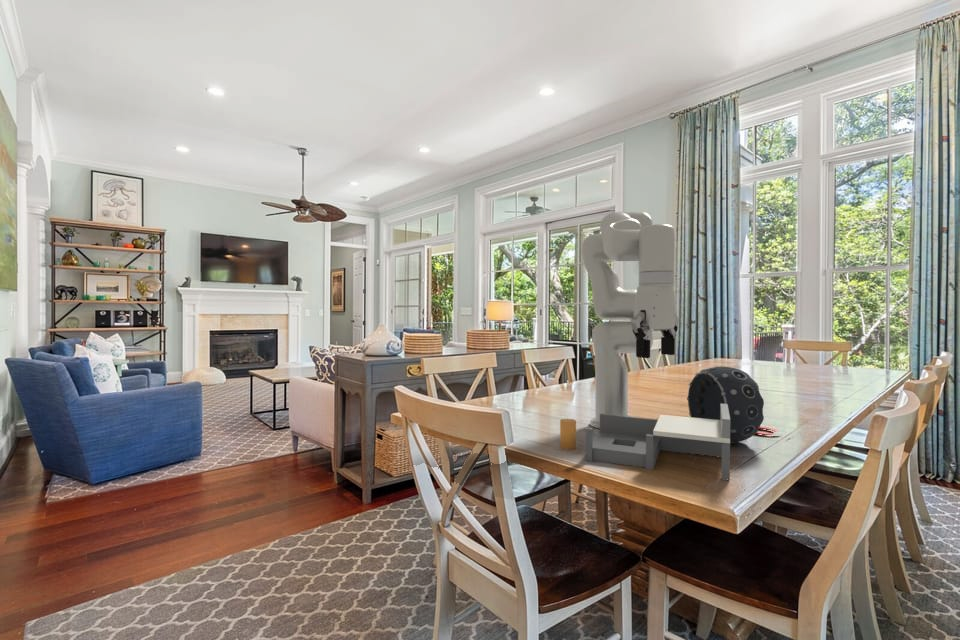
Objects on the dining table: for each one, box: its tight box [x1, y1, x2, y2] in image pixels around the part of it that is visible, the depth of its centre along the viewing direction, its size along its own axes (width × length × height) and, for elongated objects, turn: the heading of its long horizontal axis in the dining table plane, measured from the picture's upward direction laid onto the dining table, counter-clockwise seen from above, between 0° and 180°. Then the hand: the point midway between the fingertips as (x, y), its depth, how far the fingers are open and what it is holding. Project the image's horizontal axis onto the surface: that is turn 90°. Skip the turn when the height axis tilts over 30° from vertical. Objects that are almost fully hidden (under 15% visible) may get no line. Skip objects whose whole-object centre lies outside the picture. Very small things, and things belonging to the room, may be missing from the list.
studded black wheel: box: [686, 365, 765, 444], centre depth 126 cm, size 11×20×20 cm, turn 6°
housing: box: [584, 414, 731, 481], centre depth 112 cm, size 17×30×8 cm, turn 64°
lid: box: [653, 403, 731, 444], centre depth 108 cm, size 17×15×5 cm
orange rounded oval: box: [559, 418, 577, 451], centre depth 121 cm, size 4×4×7 cm
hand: (655, 356), depth 107 cm, fingers open, 9 cm apart
